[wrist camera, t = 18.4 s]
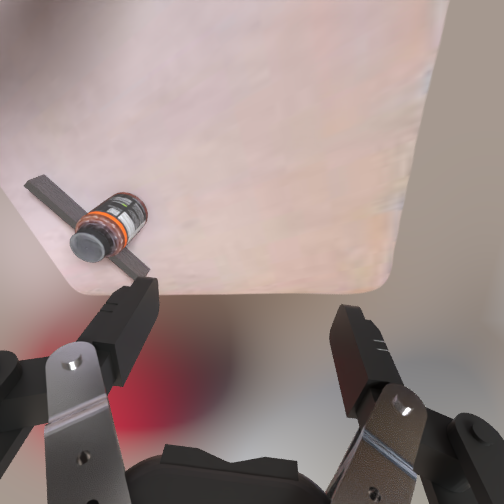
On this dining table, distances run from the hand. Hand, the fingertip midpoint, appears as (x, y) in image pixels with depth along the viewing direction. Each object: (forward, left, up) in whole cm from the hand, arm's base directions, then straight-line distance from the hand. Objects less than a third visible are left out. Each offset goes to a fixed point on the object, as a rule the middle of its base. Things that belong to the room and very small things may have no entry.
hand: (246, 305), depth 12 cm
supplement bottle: (-6, -20, -28) cm, 35 cm away
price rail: (-7, -27, -28) cm, 39 cm away
